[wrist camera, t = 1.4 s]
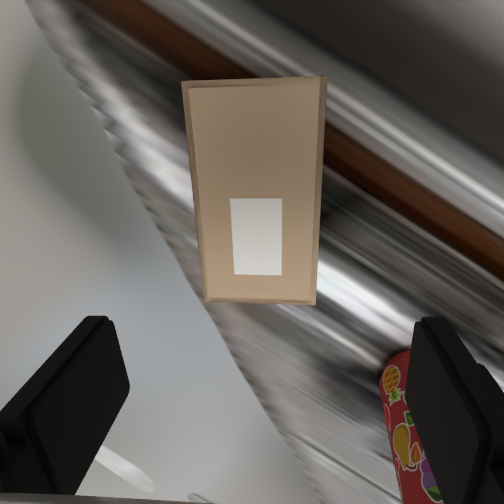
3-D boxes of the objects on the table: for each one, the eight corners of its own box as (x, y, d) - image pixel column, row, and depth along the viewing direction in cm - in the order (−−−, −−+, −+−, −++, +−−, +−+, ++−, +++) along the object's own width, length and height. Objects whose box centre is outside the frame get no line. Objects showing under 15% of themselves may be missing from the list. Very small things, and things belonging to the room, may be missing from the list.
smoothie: (401, 417, 35) (513, 764, 17) (348, 367, 33) (413, 699, 15) (481, 378, 32) (718, 748, 14) (428, 319, 30) (626, 664, 12)
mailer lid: (195, 81, 21) (180, 81, 18) (322, 76, 20) (327, 75, 17) (213, 279, 27) (203, 302, 24) (313, 281, 26) (315, 305, 23)
